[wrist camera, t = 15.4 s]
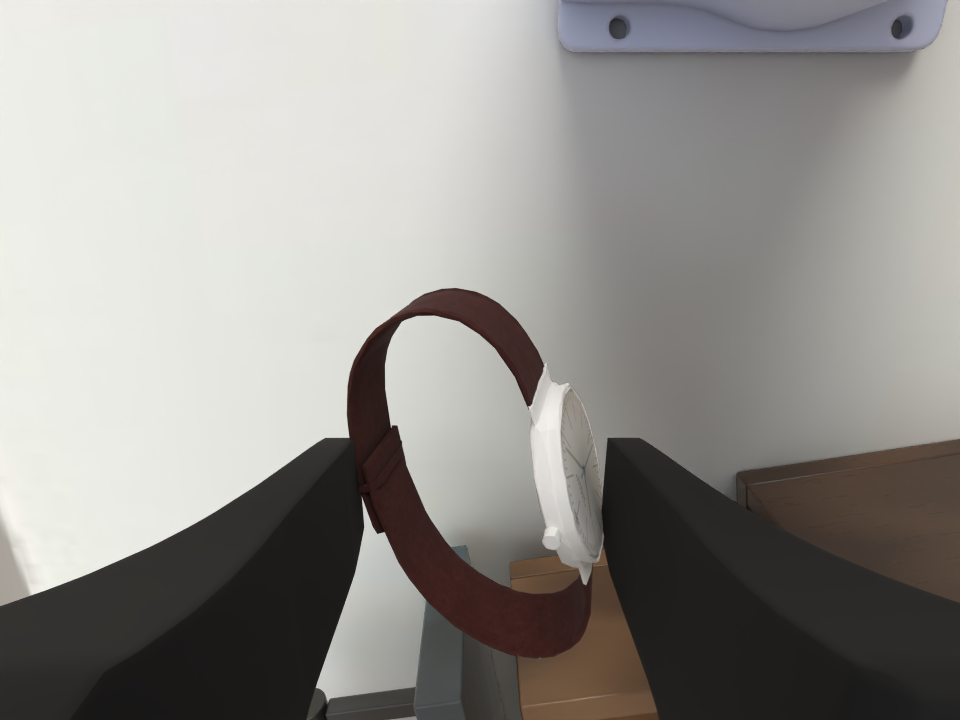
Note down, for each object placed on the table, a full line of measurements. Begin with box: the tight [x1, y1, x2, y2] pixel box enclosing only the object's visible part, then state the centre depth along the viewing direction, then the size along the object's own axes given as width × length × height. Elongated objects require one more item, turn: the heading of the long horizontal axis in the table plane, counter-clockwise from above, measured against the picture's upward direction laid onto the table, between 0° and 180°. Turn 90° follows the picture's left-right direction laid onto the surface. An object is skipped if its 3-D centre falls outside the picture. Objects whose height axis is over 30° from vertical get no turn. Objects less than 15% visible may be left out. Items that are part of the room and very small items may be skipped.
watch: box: [347, 288, 604, 659], centre depth 11 cm, size 8×5×4 cm, turn 17°
